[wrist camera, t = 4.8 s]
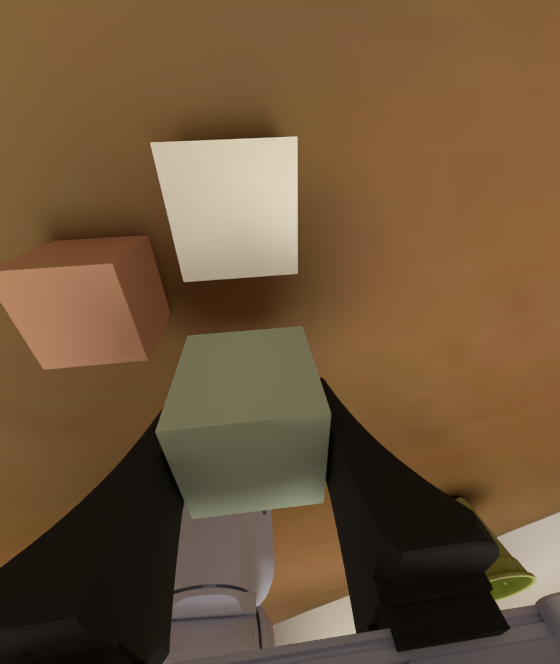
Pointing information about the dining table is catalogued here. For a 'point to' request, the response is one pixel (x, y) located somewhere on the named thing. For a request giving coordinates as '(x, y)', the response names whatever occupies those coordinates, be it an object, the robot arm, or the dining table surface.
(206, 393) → the sage block
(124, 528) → the robot arm
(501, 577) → the plant pot
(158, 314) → the terracotta block
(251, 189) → the offwhite block
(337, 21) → the dining table surface
